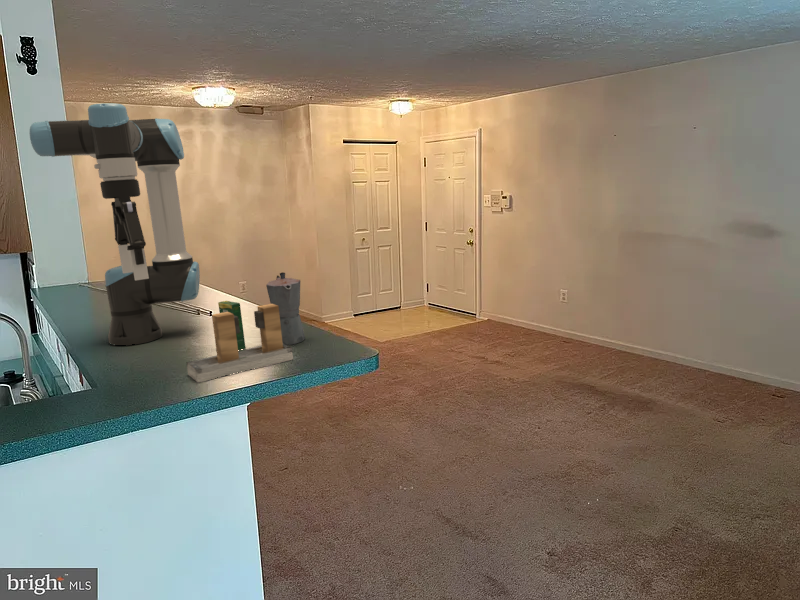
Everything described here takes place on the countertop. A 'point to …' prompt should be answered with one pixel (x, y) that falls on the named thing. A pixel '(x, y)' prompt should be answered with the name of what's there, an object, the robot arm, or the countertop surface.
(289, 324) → the moka pot
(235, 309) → the coffee box
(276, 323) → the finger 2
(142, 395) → the countertop surface
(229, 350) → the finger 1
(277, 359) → the rail
